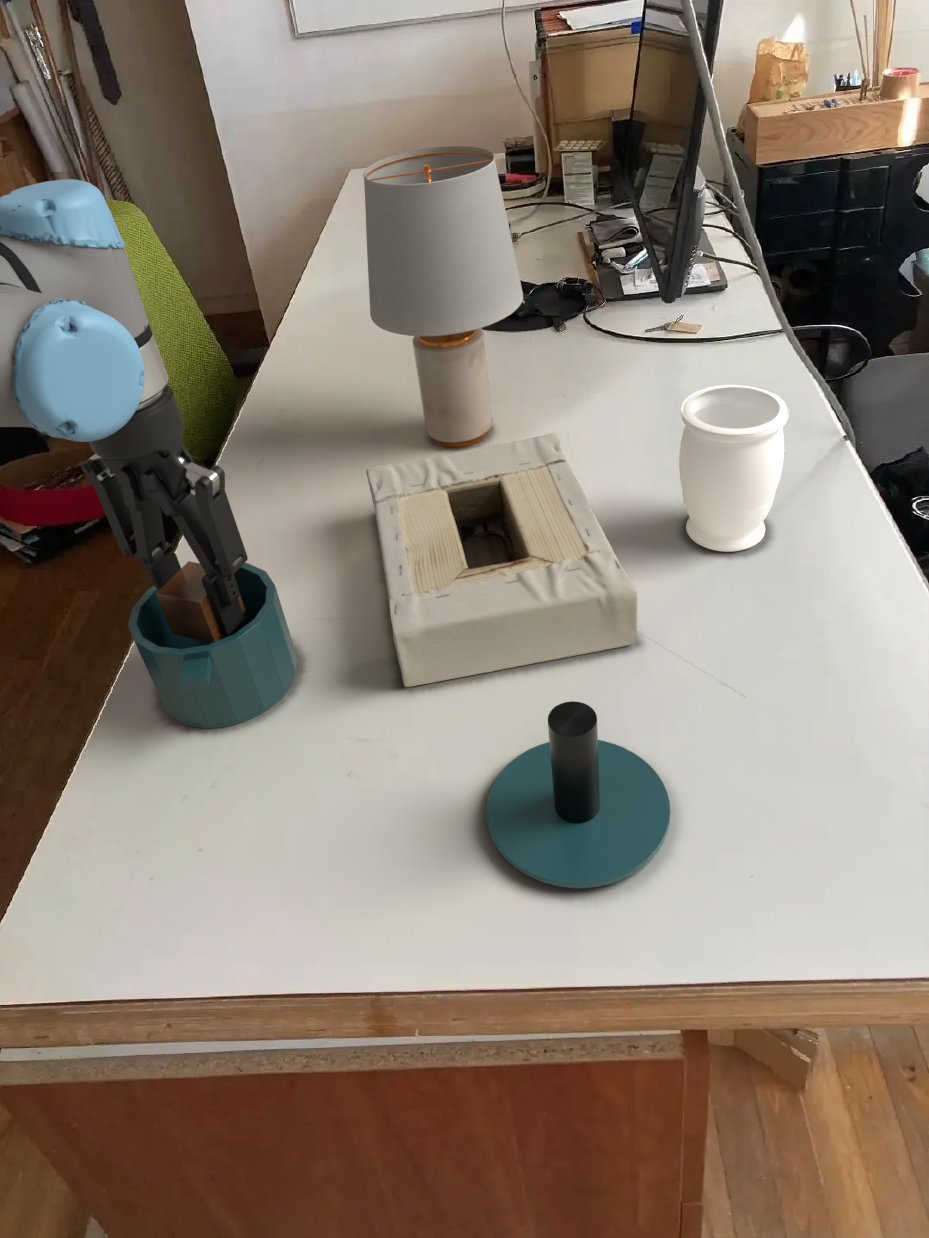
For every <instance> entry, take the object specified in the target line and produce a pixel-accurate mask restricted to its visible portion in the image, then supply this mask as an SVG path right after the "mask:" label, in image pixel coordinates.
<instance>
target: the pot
mask: <svg viewBox="0 0 929 1238" xmlns="http://www.w3.org/2000/svg"><path fill="white" fill-rule="evenodd" d="M234 577H235V580H236V582H237V583H236V584H237V585H238V588H239V591H240V596H241V599H242V602H243V604H244V607H245V610H246V611H245V612H244V613H243V615H244V619H243V620H242V621H241V622H240V624H239V625H238V626H237V627H236V628H235V629H234V630H233V631H232V632H231V633H230V635H229V636H226V635H223V636H222V638H221V639H220V640H219V641H216V642H214V643H209V642H204V641H200V640H196V639H191V638H187V637H183V636H179V635H174V634H173V633H172V631H171V628H170V626H169V624H168V621H167V619H166V616H165V614H164V612H163V609H162V607H161V604H160V602H159V600H158V597H157V595H156V592H157V591H158V590H157V588H156V587H155V586H154V585H152V586H151V587H150V588H148V589H147V590H146V591H145V593H143V595H142V596H141V598H139V599H138V601H137V602H136V603H135V604H134V606H132V609H131V613H130V616H129V620H128V623H127V627H128V630H129V632H130V635H131V637H132V639H133V642H134V644H135V647H136V648H137V651H138V653H139V655H140V656H141V659H142V661H143V664H144V666H145V668H146V670H147V672H148V675H149V677H150V679H151V681H152V684H153V686H154V688H155V690H156V693H157V695H158V697H159V700H160V701H161V704H162V706H163V708H164V710H165V712H167V713H168V715H169V716H170V717H172V718H173V719H174V720H176V721H177V722H179V723H181V724H183V725H186V726H189V727H194V728H200V729H201V728H202V729H217V728H225V727H230V726H235V725H238V724H242V723H244V722H247V721H250V720H252V719H253V718H256V717H258V716H260V715H262V714H264V713H265V712H267V711H268V710H270V709H271V708H272V707H274V706H275V705H276V704H277V703H279V701H280V700H282V699H283V697H285V695H286V694H287V693H288V692H289V690H290V689H291V687H292V686H293V684H294V683H295V680H296V677H297V672H298V660H297V658H298V657H297V655H298V654H297V652H296V648H295V646H294V642H293V639H292V635H291V633H290V629H289V626H288V624H287V619H286V616H285V613H284V610H283V606H282V603H281V600H280V597H279V595H278V594H279V593H278V590H277V587H276V585H275V583H274V581H273V580H272V579H271V576H269V574H268V572H267V571H266V570H264V569H261V568H259V567H257V566H255V565H253V564H251V563H248V562H245V563H244V564H243V565H242V566H241V567H240V568H239V569H238V570H237V571H236V572H235V573H234Z"/></svg>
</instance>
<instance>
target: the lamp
mask: <svg viewBox="0 0 929 1238" xmlns="http://www.w3.org/2000/svg"><path fill="white" fill-rule="evenodd" d="M497 168H498V167H497V163H496V157H495V154H494V153H493V152H492V151H490V150H488V149H485V148H481V147H476V146H467V145H466V146H465V145H461V146H459V145H455V146H453V145H451V146H449V145H448V146H436V147H428V148H421V149H416V150H411V151H406V152H402V153H398V154H394V155H391V156H388V157H385V158H382V159H380V160H377V161H376V162H374V163H372V164H370V165H369V166H368V167H366V168H365V169H364V171H363V174H362V176H363V185H364V186H363V187H364V207H365V230H366V231H365V232H366V233H365V234H366V235H365V236H366V255H367V256H366V257H367V275H368V277H367V278H368V296H369V314H370V319H371V321H372V322H373V324H375V326H377V327H378V328H380V329H382V330H383V331H387V332H389V333H391V334H392V333H393V334H396V335H401V336H402V335H403V336H410V337H412V341H411V342H412V348H413V355H414V361H415V369H416V375H417V382H418V386H419V392H420V401H421V407H422V413H423V419H424V426H425V432H426V434H427V435H428V436H429V437H430V438H432V439H433V442H434V443H436V444H437V445H438V446H441V447H444V448H449V449H460V448H466V447H470V446H474V445H477V444H478V443H480V442H481V441H483V440H484V439H485V438H486V437H487V436H488V434H489V430H491V427H492V426H493V411H492V402H491V400H492V399H491V391H490V390H491V389H490V380H489V372H488V371H489V370H488V363H487V351H486V343H485V334H484V329H483V328H485V327H489V326H491V325H493V324H495V323H497V322H501V321H502V320H504V319H506V318H508V317H509V316H511V315H512V314H513V313H514V312H516V311H517V310H518V309H519V308H520V306H521V305H522V303H523V300H524V293H523V287H522V282H521V277H520V274H519V268H518V264H517V258H516V254H515V253H516V252H515V249H514V243H513V239H512V235H511V234H512V233H511V230H510V224H509V220H508V215H507V211H506V206H505V202H504V197H503V191H502V187H501V183H500V177H499V173H498V169H497Z"/></svg>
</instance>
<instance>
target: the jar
mask: <svg viewBox="0 0 929 1238" xmlns="http://www.w3.org/2000/svg"><path fill="white" fill-rule="evenodd" d="M680 408H681V409H680V410H681V413H680V415H681V420H682V423H683V424H684V428H683V431H682V435H681V440H680V447H679V454H678V455H679V456H678V467H679V478H680V486H681V489H682V490H681V492H682V498H683V504H684V506H685V510H686V512H687V516H688V517H689V518H688V519H687V521H686V524H685V525H686V526H685V528H686V529H685V530H686V533H687V535H688V536H689V538H690V539H691V540H692V541H693V542H694V543H696V544H697V545H699V546H701V547H703V548H706V549H709V550H712V551H716V552H726V553H728V552H738V551H739V552H740V551H744V550H747V549H750V548H753V547H754V546H756V545H757V544H758V543H760V542H761V541H762V539H764V537H765V534H766V526H765V522H764V521H765V520H766V518H767V516H768V514H769V512H770V510H771V509H772V506H773V503H774V500H775V496H776V492H777V490H778V486H779V484H780V480H781V476H782V472H783V467H784V459H785V438H784V437H785V436H784V431H783V428H784V427H785V426H786V424H787V422H788V419H789V405H788V403H787V402H786V400H785V399H784V398H783V397H782V396H780V395H779V394H777V393H775V392H773V391H771V390H768V389H766V388H762V387H759V386H753V385H748V384H747V385H746V384H720V385H715V386H709V387H706V388H703V389H700V390H697V391H695V392H694V393H692V394H690V395H688V397H686V398H685V399H684V400H683V402H682V405H681V407H680Z"/></svg>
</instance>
